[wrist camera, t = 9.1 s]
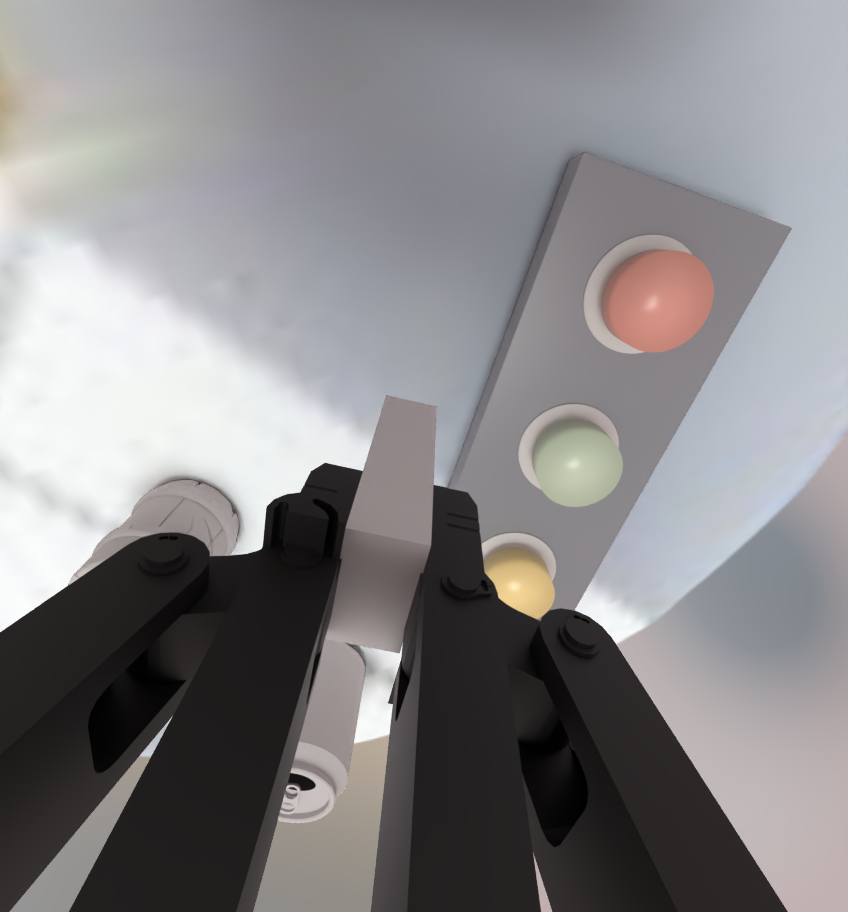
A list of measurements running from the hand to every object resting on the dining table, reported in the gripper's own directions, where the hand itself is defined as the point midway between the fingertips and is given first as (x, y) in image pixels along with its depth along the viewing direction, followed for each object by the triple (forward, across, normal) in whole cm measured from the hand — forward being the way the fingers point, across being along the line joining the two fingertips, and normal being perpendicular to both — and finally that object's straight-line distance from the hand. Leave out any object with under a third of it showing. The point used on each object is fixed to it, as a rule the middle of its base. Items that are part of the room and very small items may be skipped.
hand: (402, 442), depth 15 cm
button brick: (+15, +12, +5) cm, 19 cm away
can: (+18, -2, -32) cm, 36 cm away
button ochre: (+14, +10, -15) cm, 23 cm away
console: (+18, +11, -6) cm, 22 cm away
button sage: (+14, +11, -5) cm, 19 cm away
